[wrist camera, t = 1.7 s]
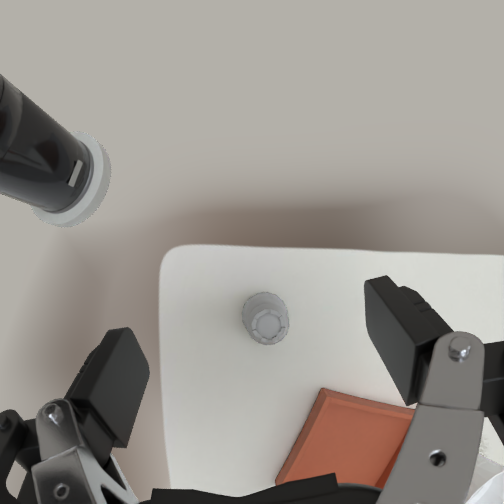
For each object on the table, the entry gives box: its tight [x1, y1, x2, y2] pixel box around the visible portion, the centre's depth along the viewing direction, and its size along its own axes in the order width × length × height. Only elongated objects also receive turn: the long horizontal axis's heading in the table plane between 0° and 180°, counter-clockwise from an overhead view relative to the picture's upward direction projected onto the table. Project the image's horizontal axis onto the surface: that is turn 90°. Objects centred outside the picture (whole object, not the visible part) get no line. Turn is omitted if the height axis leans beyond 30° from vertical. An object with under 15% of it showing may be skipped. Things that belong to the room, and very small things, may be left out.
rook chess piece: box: [242, 292, 289, 345], centre depth 27 cm, size 4×4×8 cm
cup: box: [465, 453, 504, 504], centre depth 24 cm, size 10×10×10 cm
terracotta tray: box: [275, 388, 415, 489], centre depth 28 cm, size 13×13×3 cm
